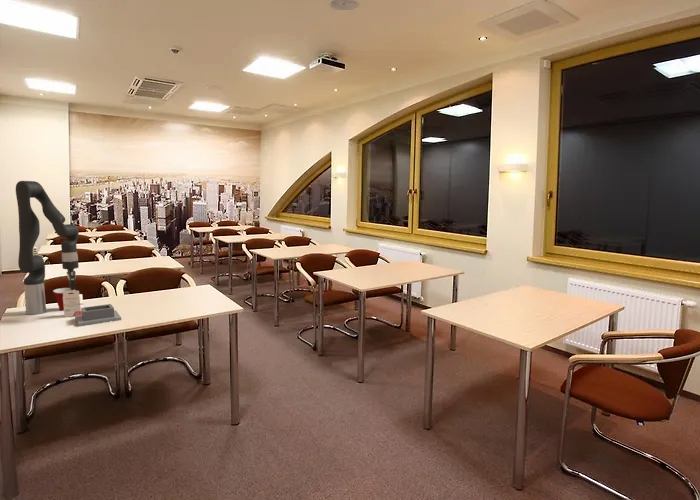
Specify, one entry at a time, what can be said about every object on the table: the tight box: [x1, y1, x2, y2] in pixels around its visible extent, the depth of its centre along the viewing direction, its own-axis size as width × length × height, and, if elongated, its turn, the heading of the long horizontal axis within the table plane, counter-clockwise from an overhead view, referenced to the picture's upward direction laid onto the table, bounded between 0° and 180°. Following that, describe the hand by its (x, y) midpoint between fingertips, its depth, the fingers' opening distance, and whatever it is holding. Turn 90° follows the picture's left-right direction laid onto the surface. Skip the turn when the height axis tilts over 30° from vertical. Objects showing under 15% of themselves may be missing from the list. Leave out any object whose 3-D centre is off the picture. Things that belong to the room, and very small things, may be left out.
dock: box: [74, 303, 122, 327], centre depth 231 cm, size 20×17×6 cm
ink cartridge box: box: [63, 290, 84, 318], centre depth 237 cm, size 9×5×15 cm, turn 105°
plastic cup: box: [52, 287, 76, 311], centre depth 248 cm, size 11×11×12 cm
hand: (72, 288), depth 235 cm, fingers open, 8 cm apart
